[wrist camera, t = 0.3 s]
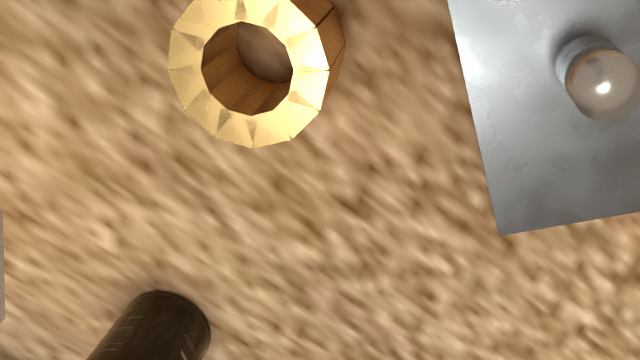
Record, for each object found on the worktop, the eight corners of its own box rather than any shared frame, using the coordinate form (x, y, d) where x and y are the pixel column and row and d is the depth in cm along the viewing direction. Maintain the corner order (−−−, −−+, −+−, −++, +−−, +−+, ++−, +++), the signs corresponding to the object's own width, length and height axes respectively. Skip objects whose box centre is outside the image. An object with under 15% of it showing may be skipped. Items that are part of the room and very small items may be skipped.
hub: (188, -6, 35) (144, 12, 29) (319, -48, 32) (297, -37, 27) (236, 122, 37) (203, 160, 32) (359, 91, 35) (346, 126, 30)
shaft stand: (429, -83, 31) (428, -79, 25) (688, -167, 28) (757, -185, 22) (495, 219, 37) (507, 279, 31) (711, 180, 34) (769, 238, 28)
